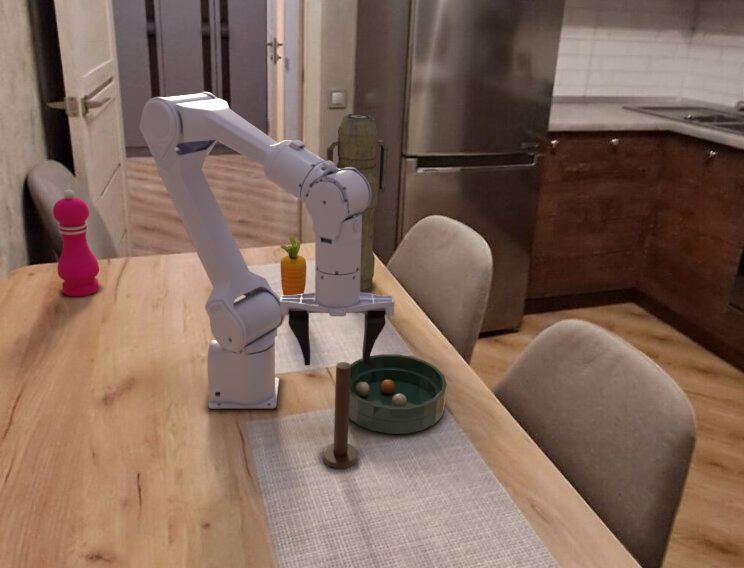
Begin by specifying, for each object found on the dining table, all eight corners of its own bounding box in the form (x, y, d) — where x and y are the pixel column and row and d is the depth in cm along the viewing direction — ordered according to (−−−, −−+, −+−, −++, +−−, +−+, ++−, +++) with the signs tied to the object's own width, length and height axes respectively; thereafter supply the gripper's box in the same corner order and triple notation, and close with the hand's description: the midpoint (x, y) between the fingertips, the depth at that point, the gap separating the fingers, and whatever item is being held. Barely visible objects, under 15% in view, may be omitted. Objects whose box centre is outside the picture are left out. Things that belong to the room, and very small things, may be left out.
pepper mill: (63, 284, 131) (49, 184, 123) (103, 282, 133) (92, 184, 126) (57, 299, 125) (43, 195, 117) (99, 296, 127) (87, 194, 119)
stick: (322, 468, 84) (325, 374, 79) (323, 447, 89) (325, 356, 83) (357, 468, 85) (362, 374, 80) (356, 447, 89) (361, 356, 84)
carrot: (301, 321, 123) (302, 244, 117) (275, 317, 124) (275, 240, 118) (310, 310, 127) (311, 235, 122) (285, 306, 128) (285, 232, 122)
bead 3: (391, 403, 96) (388, 406, 98) (405, 409, 96) (401, 412, 98) (397, 389, 97) (393, 393, 98) (410, 395, 97) (406, 398, 99)
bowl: (342, 437, 91) (343, 409, 89) (340, 378, 105) (341, 353, 103) (451, 436, 93) (454, 408, 91) (435, 379, 107) (437, 354, 105)
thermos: (317, 280, 141) (320, 112, 128) (369, 274, 146) (377, 111, 132) (331, 297, 133) (336, 120, 120) (385, 290, 138) (396, 119, 125)
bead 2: (381, 389, 102) (377, 392, 100) (385, 375, 102) (380, 379, 100) (395, 393, 102) (390, 397, 99) (398, 380, 101) (394, 384, 99)
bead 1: (368, 400, 99) (353, 398, 99) (369, 392, 101) (354, 390, 101) (370, 387, 98) (355, 385, 98) (371, 380, 100) (356, 377, 100)
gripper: (277, 278, 79) (279, 377, 85) (398, 279, 81) (393, 376, 86) (281, 257, 86) (282, 351, 91) (392, 258, 88) (388, 350, 93)
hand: (336, 361), depth 89 cm, fingers open, 7 cm apart
